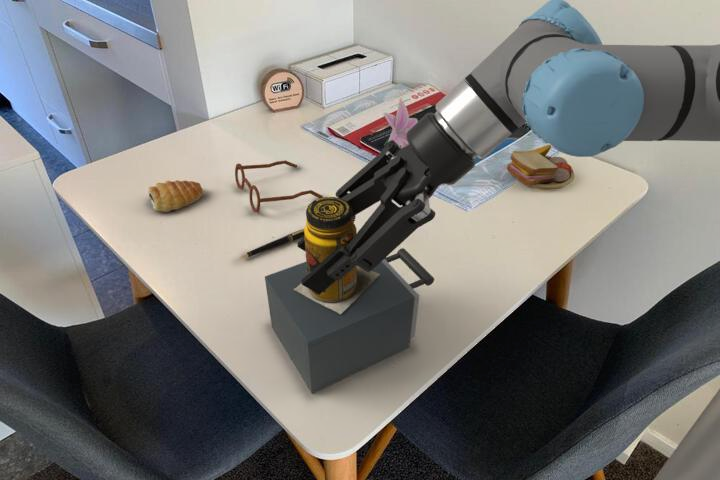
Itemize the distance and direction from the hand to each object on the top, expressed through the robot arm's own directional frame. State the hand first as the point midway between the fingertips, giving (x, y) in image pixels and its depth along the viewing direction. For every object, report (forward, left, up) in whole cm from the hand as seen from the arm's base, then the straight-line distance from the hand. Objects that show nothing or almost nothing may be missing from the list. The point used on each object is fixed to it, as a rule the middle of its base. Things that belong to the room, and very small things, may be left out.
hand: (308, 267), depth 63 cm
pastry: (+43, -7, -13) cm, 45 cm away
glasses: (+31, -22, -13) cm, 40 cm away
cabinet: (-2, -3, -13) cm, 14 cm away
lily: (+23, -50, -13) cm, 56 cm away
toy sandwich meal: (-4, -60, -13) cm, 61 cm away
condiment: (-2, -3, -4) cm, 5 cm away
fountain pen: (+19, -11, -13) cm, 25 cm away
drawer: (-4, -6, -12) cm, 14 cm away
